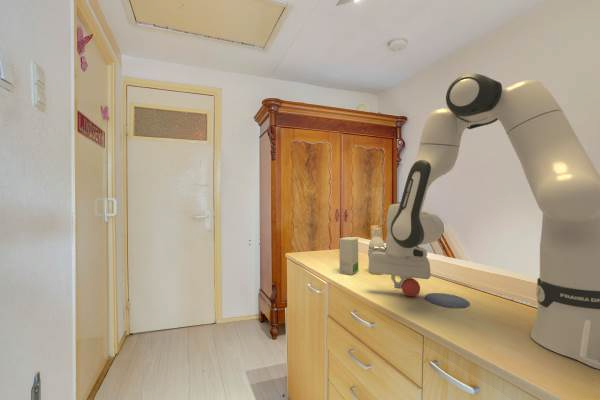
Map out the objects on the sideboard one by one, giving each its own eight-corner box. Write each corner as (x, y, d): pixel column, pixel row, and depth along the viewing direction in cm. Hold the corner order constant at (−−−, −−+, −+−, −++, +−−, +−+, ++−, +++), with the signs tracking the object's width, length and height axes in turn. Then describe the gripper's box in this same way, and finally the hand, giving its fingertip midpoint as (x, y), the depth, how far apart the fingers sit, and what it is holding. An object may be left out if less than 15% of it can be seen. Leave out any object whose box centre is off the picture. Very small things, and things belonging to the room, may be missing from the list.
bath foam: (367, 270, 129) (367, 227, 129) (382, 270, 128) (382, 227, 128) (370, 274, 122) (370, 229, 122) (386, 274, 121) (386, 229, 121)
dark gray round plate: (464, 296, 95) (464, 295, 95) (474, 310, 82) (474, 309, 82) (423, 291, 99) (423, 291, 99) (426, 304, 87) (426, 304, 87)
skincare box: (352, 275, 120) (352, 239, 120) (338, 273, 123) (338, 238, 123) (358, 271, 127) (359, 237, 127) (345, 269, 130) (345, 236, 130)
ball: (412, 297, 97) (424, 285, 96) (411, 302, 91) (424, 290, 90) (398, 284, 99) (409, 273, 98) (396, 289, 93) (409, 276, 92)
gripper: (367, 247, 96) (366, 286, 96) (432, 253, 89) (430, 295, 90) (369, 244, 102) (367, 281, 102) (429, 249, 95) (428, 289, 96)
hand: (397, 288), depth 96 cm, fingers closed
